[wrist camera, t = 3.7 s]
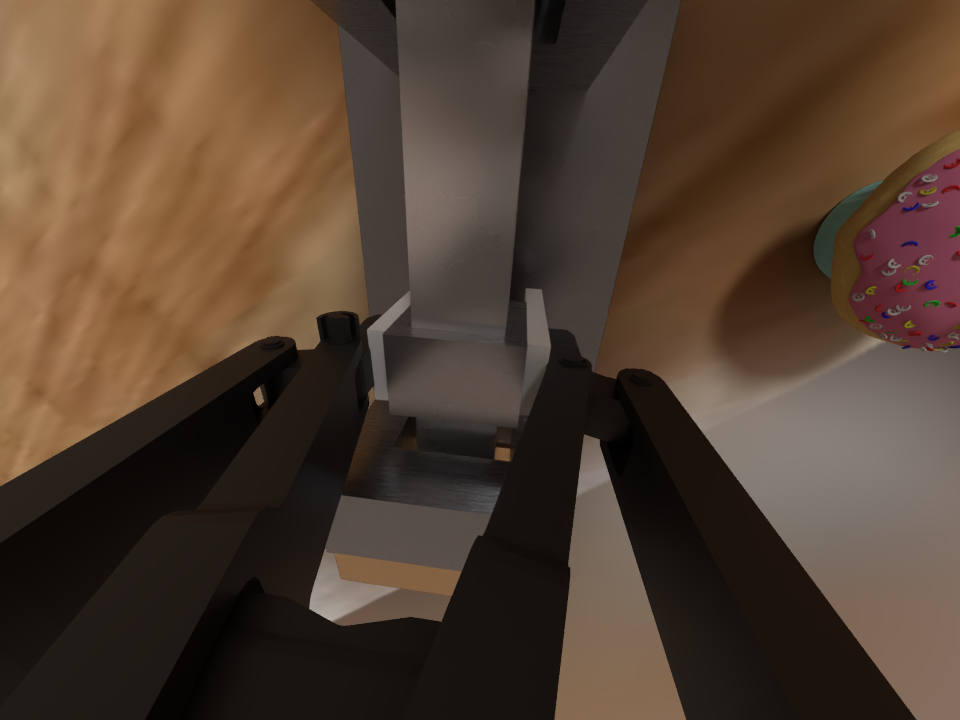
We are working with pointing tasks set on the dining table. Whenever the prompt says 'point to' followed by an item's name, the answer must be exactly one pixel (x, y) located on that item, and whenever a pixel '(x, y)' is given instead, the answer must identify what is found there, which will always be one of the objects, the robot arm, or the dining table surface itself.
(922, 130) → the dining table surface
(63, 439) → the dining table surface
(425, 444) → the shaft
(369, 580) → the block
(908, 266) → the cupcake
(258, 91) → the dining table surface
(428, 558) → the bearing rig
